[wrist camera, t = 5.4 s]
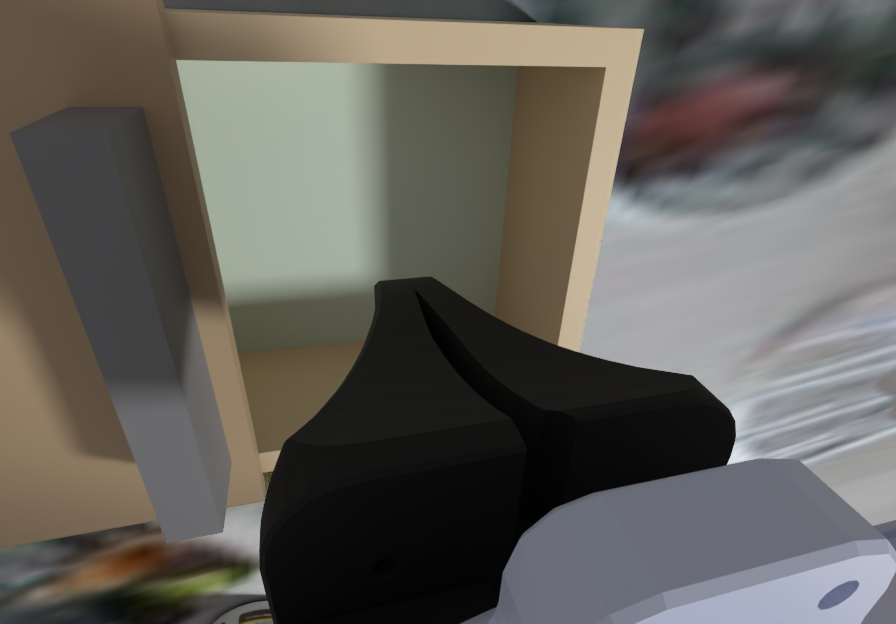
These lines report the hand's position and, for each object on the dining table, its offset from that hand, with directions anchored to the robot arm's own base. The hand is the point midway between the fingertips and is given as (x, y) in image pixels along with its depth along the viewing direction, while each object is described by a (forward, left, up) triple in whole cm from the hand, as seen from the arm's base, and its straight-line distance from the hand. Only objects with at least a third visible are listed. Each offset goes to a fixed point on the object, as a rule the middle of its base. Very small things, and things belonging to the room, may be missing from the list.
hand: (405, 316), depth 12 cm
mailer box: (0, +1, -8) cm, 8 cm away
